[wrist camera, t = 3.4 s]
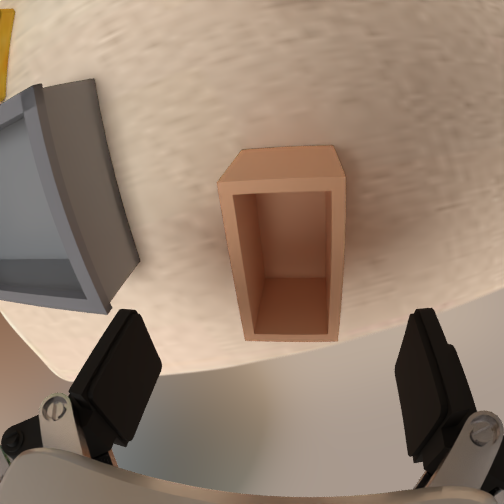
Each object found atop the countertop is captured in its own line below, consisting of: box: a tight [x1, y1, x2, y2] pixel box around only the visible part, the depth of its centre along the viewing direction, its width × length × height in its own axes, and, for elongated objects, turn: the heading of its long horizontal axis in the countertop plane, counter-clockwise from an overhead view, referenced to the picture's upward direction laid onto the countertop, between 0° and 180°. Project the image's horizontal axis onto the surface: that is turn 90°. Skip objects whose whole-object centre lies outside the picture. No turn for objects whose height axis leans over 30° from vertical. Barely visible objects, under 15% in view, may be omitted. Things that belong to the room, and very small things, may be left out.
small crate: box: [217, 145, 346, 342], centre depth 15 cm, size 4×8×5 cm, turn 7°
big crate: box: [0, 79, 140, 315], centre depth 16 cm, size 18×12×5 cm
